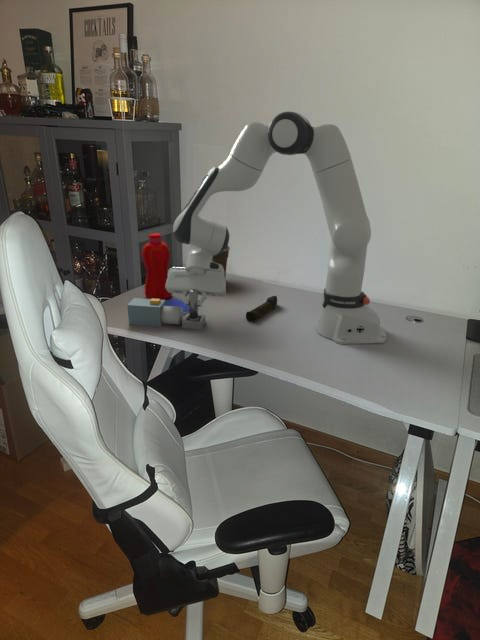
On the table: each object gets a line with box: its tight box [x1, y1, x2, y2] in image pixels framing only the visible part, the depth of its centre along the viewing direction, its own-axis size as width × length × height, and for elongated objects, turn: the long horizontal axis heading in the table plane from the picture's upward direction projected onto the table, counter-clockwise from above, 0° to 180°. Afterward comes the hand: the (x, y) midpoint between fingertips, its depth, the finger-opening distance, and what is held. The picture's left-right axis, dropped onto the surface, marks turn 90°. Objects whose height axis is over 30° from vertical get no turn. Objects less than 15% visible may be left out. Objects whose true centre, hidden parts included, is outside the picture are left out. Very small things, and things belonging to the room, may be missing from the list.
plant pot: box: [212, 245, 231, 278], centre depth 173 cm, size 16×16×16 cm
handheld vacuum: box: [126, 297, 207, 331], centre depth 137 cm, size 25×7×8 cm, turn 83°
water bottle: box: [141, 232, 173, 301], centre depth 156 cm, size 9×11×25 cm
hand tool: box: [245, 295, 278, 323], centre depth 148 cm, size 19×4×5 cm, turn 144°
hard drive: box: [165, 297, 189, 315], centre depth 151 cm, size 2×8×12 cm
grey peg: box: [188, 289, 199, 321], centre depth 135 cm, size 4×4×11 cm
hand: (193, 305), depth 134 cm, fingers closed on grey peg, 3 cm apart
